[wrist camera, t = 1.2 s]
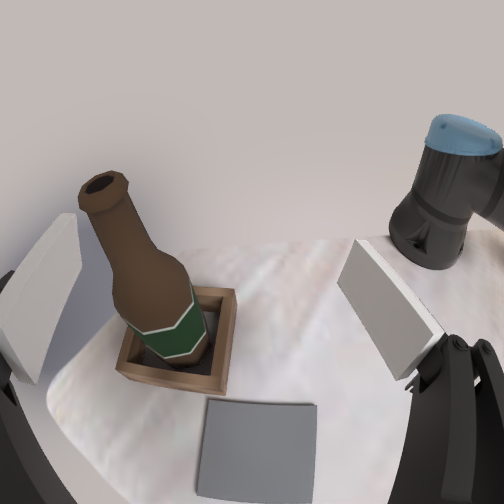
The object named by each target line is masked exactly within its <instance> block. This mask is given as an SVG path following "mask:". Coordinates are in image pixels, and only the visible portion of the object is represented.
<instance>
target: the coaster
mask: <svg viewBox="0 0 504 504" xmlns="http://www.w3.org/2000/svg"><path fill="white" fill-rule="evenodd" d="M316 430H317V405H313V406H290V405H262V404H247V403H235V402H225V401H216V400H209V404H208V412H207V419H206V426H205V433H204V441H203V448H202V456H201V464H200V472H199V480H198V488H197V496H202V497H208V498H214V499H221V500H228V501H237V502H248V503H263V504H311V503H312V498H313V486H314V471H315V454H316Z"/></svg>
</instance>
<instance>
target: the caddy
mask: <svg viewBox="0 0 504 504" xmlns="http://www.w3.org/2000/svg"><path fill="white" fill-rule="evenodd" d="M193 289H194V292H195V294H196V297H197V299H198V302H199V305H200V307H201V310H202V311H208V312H220V318H219V325H218V331H217V337H216V343H215V350H214V356H213V362H212V369H211V375H210V376H206V375H198V374H190V373H183V372H177V371H170V370H164V369H159V368H153V367H148V366H143V365H142V361H143V357H144V354H145V350H146V345H145V344H144V343H143V342H142V341H141V339H140V338H139V337H138V336H137V335H136V334H135V333H134V331H133V330H132V329H131V328H130V327H129V326H128V327H127V331H126V334H125V337H124V340H123V344H122V347H121V350H120V354H119V357H118V361H117V364H116V368H115V370H117V371H118V372H119V373H121V374H122V375H124V376H125V377H126V378H128V379H129V380H133V381H137V382H142V383H147V384H151V385H156V386H161V387H167V388H172V389H178V390H184V391H190V392H197V393H204V394H212V395H221V396H226V389H227V381H228V373H229V365H230V357H231V350H232V342H233V334H234V326H235V319H236V311H237V302H236V296H235V290H234V289H229V288H210V287H194V286H193Z"/></svg>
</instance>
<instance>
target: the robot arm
mask: <svg viewBox="0 0 504 504" xmlns="http://www.w3.org/2000/svg"><path fill="white" fill-rule="evenodd" d="M502 147H503V144H502V139H501V137H500V136H499V135H498V134H497V133H496V132H495V131H493V130H492V129H490V128H487V126H485V125H483V124H481V123H479V122H477V121H474V120H471V119H468V118H465V117H462V116H458V115H451V114H441V115H438V116H436V117H435V118H434V119H433V120H432V123H431V126H430V129H429V132H428V136H427V137H426V138H425V148H424V151H423V154H422V158H421V161H420V164H419V168H418V170H417V174H416V177H415V180H414V183H413V186H412V188H411V191H410V192H409V193H408V194H407V196H406V197H405V198H404V199H403V201H402V202H401V203H400V204H399V206H398V207H396V209H395V210H394V212H393V214H392V217H391V219H390V222H389V232H390V236H391V238H392V240H393V242H394V244H395V245H396V247H397V248H398V249H399V250H400V251H401V252H402V253H403V254H404V255H405V256H406V257H407V258H409V259H410V260H411V261H413V262H415V263H416V264H418V265H420V266H423V267H425V268H428V269H433V270H444V269H448V268H450V267H452V266H453V265H454V264H455V263H456V261H457V259H458V258H459V256H460V255H461V253H462V250H463V244H464V239H465V235H466V230H467V224H468V222H469V220H470V218H471V216H472V214H473V213H474V212H475V213H476V214H478V215H480V216H482V217H483V218H485V219H486V220H488V221H489V222H491V223H492V224H494V225H495V226H497V227H498V228H499V229H501V230H502V231H504V148H502ZM76 220H77V218H76V214H73V213H61V214H60V215H59V216H58V217H57V219H56V220H55V221H54V222H53V223H52V224H51V225H50V227H49V228H48V229H47V230H46V232H45V233H44V234H43V235H42V236H41V238H40V239H39V240H38V241H37V243H36V244H35V245H34V247H33V248H32V249H31V250H30V252H29V253H28V254H27V256H26V257H25V259H24V260H23V261H22V263H21V264H20V265H19V267H18V268H17V270H16V271H12V270H11V271H10V272H8V273H7V274H6V275H5V276H3V277H2V278H1V279H0V504H77V502H76V501H75V500H74V498H73V497H72V496H71V494H70V493H69V492H68V490H67V489H66V487H65V486H64V484H63V483H62V482H61V480H60V479H59V477H58V476H57V474H56V472H55V471H54V469H53V468H52V466H51V464H50V463H49V461H48V459H47V457H46V456H45V454H44V452H43V451H42V449H41V447H40V445H39V443H38V441H37V439H36V437H35V435H34V434H33V431H32V429H31V427H30V425H29V423H28V421H27V419H26V417H25V414H24V412H23V410H22V407H21V405H20V402H19V400H18V397H17V395H16V392H15V390H14V387H13V385H12V383H11V381H10V380H9V378H10V375H11V372H13V373H14V375H15V376H16V378H17V379H18V380H19V381H21V382H24V383H27V384H31V385H34V386H36V385H37V382H38V378H39V375H40V371H41V368H42V365H43V362H44V359H45V356H46V352H47V350H48V347H49V344H50V341H51V339H52V336H53V333H54V331H55V328H56V325H57V323H58V320H59V318H60V315H61V313H62V310H63V308H64V306H65V303H66V301H67V299H68V296H69V294H70V292H71V290H72V288H73V285H74V283H75V281H76V279H77V277H78V275H79V273H80V271H81V269H82V260H81V253H80V246H79V238H78V229H77V221H76ZM337 284H338V285H339V287H340V288H341V290H342V291H343V293H344V295H345V296H346V298H347V299H348V301H349V303H350V304H351V306H352V307H353V309H354V311H355V312H356V314H357V315H358V317H359V319H360V320H361V322H362V324H363V325H364V327H365V329H366V330H367V332H368V334H369V335H370V337H371V339H372V340H373V342H374V344H375V345H376V347H377V349H378V350H379V352H380V354H381V356H382V357H383V359H384V361H385V363H386V364H387V366H388V368H389V370H390V371H391V373H392V375H393V377H394V379H395V380H396V381H397V380H400V379H404V378H407V377H409V375H410V374H411V373H412V372H413V371H414V370H415V369H417V370H418V372H419V373H418V374H417V375H416V376H415V377H414V378H413V379H412V381H411V382H410V383H409V384H408V385H407V386H406V388H405V390H406V391H407V390H408V389H409V388H410V387H411V386H414V387H413V388H412V389H411V390H410V391H409V392H411V393H413V395H412V403H411V410H410V416H409V422H408V427H407V433H406V438H405V443H404V447H403V452H402V456H401V460H400V464H399V468H398V471H397V475H396V478H395V482H394V485H393V488H392V492H391V495H390V498H389V501H388V504H504V373H503V370H502V368H501V365H500V363H499V360H498V358H497V355H496V353H495V350H494V349H493V347H492V346H491V344H490V343H489V342H488V341H487V340H484V339H479V340H478V341H477V342H476V343H475V345H474V346H473V347H470V346H468V344H467V343H466V342H465V341H464V340H463V339H462V338H461V337H459V336H457V335H454V334H452V335H450V336H448V335H447V334H446V332H445V331H444V330H443V328H442V327H441V326H440V325H439V323H438V322H437V321H436V319H435V318H434V317H433V316H432V314H430V312H429V311H428V309H427V308H426V307H425V306H424V304H423V303H422V302H421V301H420V299H418V298H417V296H416V295H415V294H414V293H413V292H412V290H411V289H410V288H409V287H408V286H407V284H406V283H405V282H404V281H403V280H402V279H401V278H400V276H399V275H398V274H397V273H396V272H395V271H394V270H393V268H392V267H391V266H390V265H389V264H388V263H387V262H386V261H385V260H384V258H383V257H382V256H381V255H380V254H379V253H378V252H377V251H376V250H375V249H374V248H373V247H372V246H371V244H370V243H369V242H368V241H366V240H358V239H355V241H354V244H353V246H352V249H351V251H350V253H349V256H348V258H347V261H346V263H345V265H344V268H343V270H342V272H341V275H340V277H339V279H338V281H337ZM478 376H480V380H481V381H480V382H479V383H478V384H477V385H476V386H475V387H474V380H475V379H476V378H477V377H478Z"/></svg>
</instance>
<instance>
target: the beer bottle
mask: <svg viewBox="0 0 504 504" xmlns="http://www.w3.org/2000/svg"><path fill="white" fill-rule="evenodd" d="M128 183H129V182H128V181H127V179H126V178H125V177H124V175H123V174H122V173H119V172H115V171H108V172H105V173H102V174H99V175H96V176H94V177H93V178H92V179H90V180H89V181H88V182H87V183H85V184H84V185H83V186H82V187H81V190H80V192H79V195H78V202H79V208H80V209H81V210H83V211H85V212H86V213H87V215H88V217H89V219H90V222H91V224H92V226H93V228H94V231H95V233H96V235H97V237H98V239H99V241H100V244H101V246H102V248H103V250H104V252H105V254H106V256H107V258H108V260H109V262H110V264H111V268H112V270H113V290H112V295H113V301H114V306H115V308H116V309H117V311H118V313H119V314H120V316H121V317H122V318H123V320H124V321H125V322H126V323H127V324H128V326H129V327H130V328H131V329H132V330H133V331H134V333H135V334H136V335H137V336H138V337H139V338H140V339H141V341H142V342H143V343H144V344H145V345H146V346H147V347H148V348H149V349H150V350H151V352H152V353H153V354H155V355H156V356H157V357H158V358H160V359H161V360H162V361H164V362H165V363H167V364H168V365H170V366H171V367H173V368H174V369H182V368H187V367H192V366H197V365H199V364H200V362H201V361H202V360H203V358H204V357H205V355H206V354H207V353H208V351H209V350H210V348H211V347H212V346H211V341H210V337H209V332H208V328H207V324H206V320H205V317H204V315H203V312H202V310H201V307H200V305H199V302H198V299H197V297H196V294H195V292H194V289H193V286H192V283H191V281H190V278H189V276H188V274H187V272H186V270H185V268H184V266H183V265H182V264H181V263H180V262H179V261H178V260H177V259H176V258H174V257H173V256H171V255H168V254H167V253H164V252H162V251H160V250H158V249H157V247H156V246H155V245H154V243H153V242H152V241H151V239H150V237H149V235H148V233H147V231H146V229H145V227H144V225H143V223H142V221H141V219H140V217H139V215H138V213H137V211H136V209H135V207H134V205H133V203H132V201H131V198H130V196H129V194H128V192H127V190H128Z"/></svg>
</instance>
